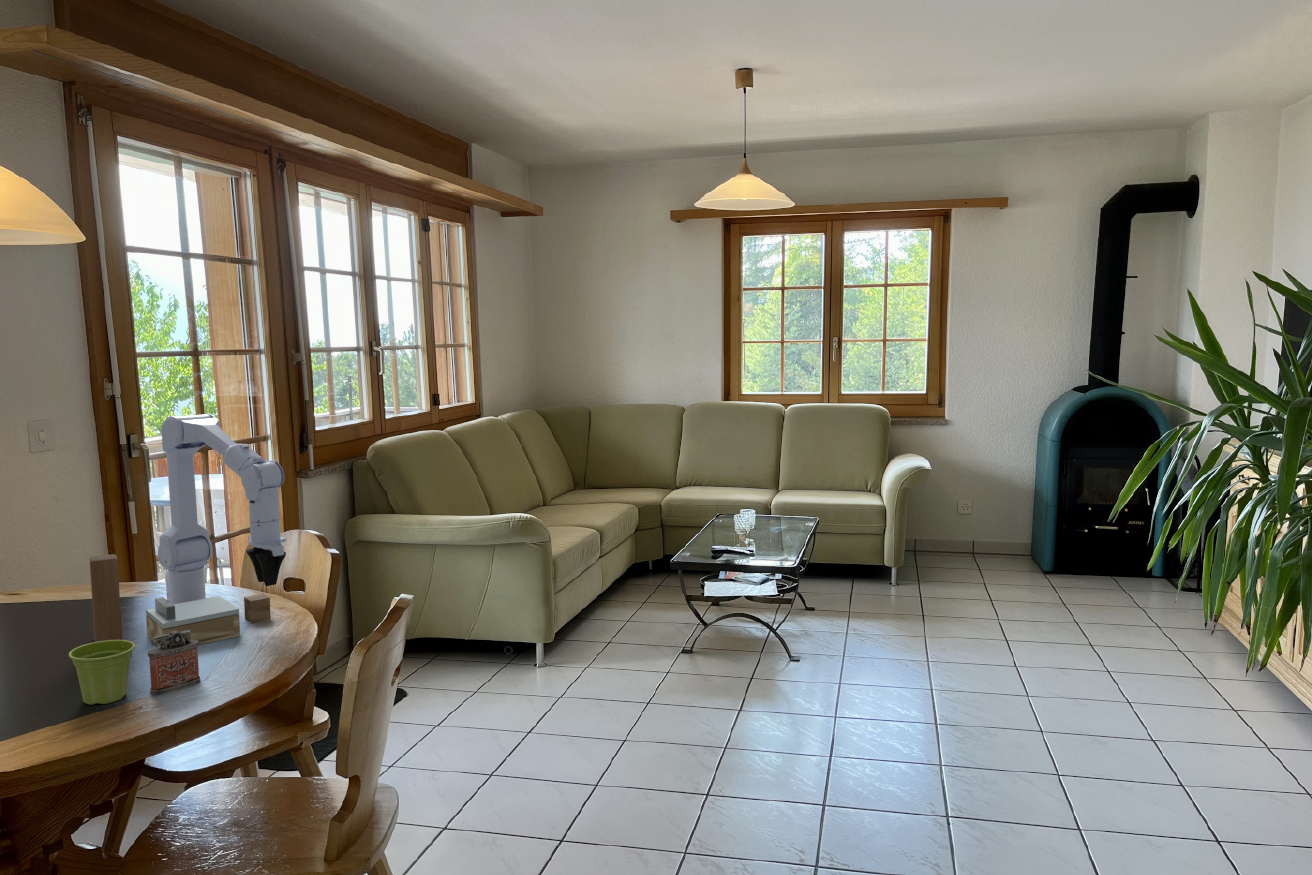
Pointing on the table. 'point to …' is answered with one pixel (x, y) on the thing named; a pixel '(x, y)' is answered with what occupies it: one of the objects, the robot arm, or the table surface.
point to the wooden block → (105, 598)
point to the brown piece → (201, 629)
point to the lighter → (173, 663)
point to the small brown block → (257, 608)
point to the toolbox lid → (189, 611)
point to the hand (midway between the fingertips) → (267, 583)
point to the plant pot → (102, 669)
